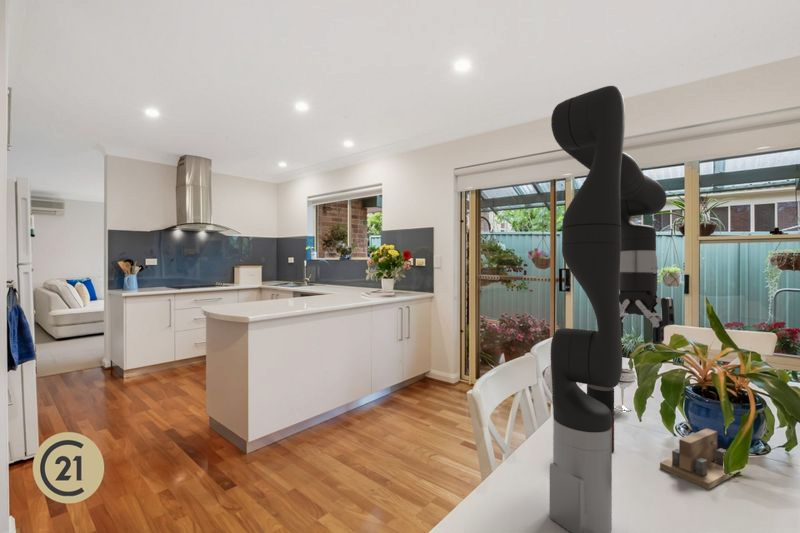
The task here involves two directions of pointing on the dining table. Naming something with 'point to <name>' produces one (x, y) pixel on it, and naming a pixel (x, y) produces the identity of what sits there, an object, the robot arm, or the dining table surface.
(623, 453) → the dining table surface
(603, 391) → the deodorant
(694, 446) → the brown block
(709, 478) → the wooden base with pegs
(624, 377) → the wineglass
